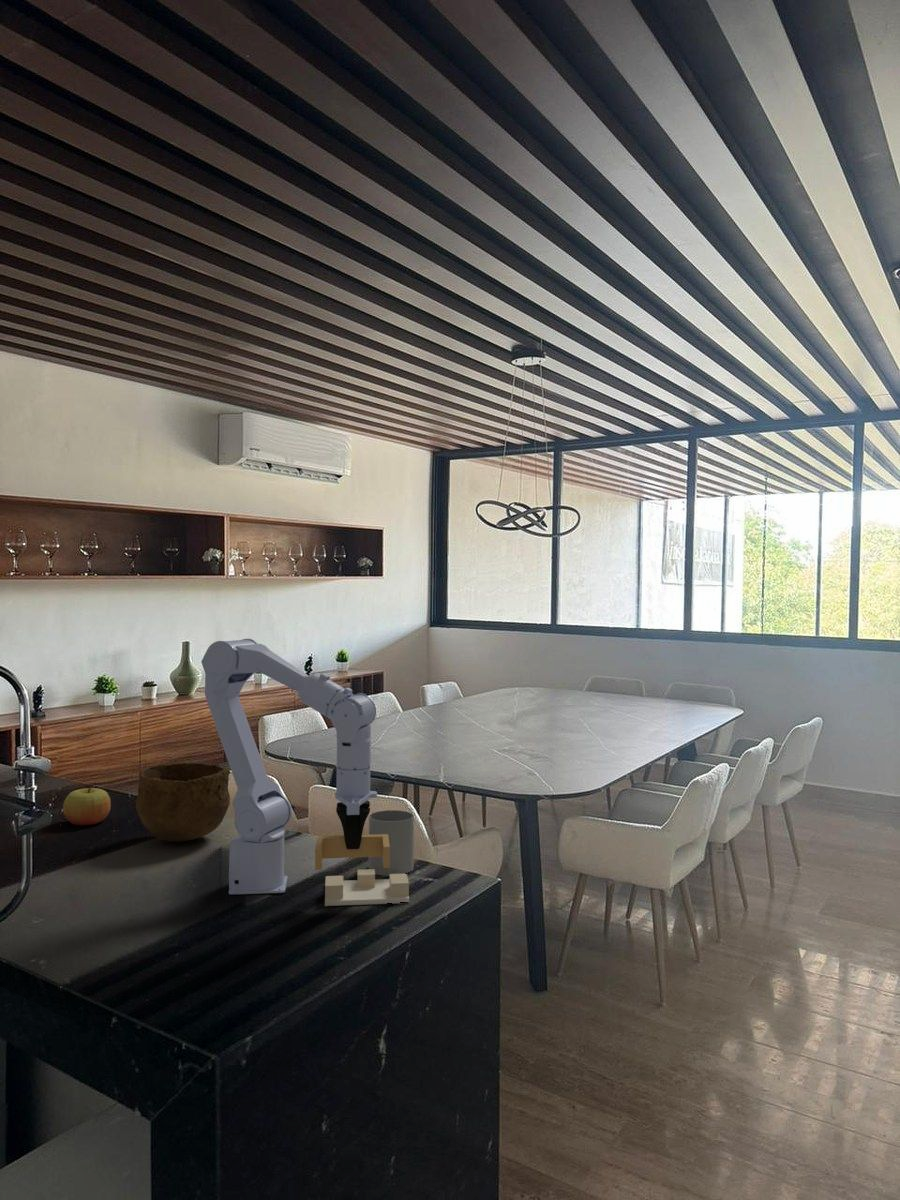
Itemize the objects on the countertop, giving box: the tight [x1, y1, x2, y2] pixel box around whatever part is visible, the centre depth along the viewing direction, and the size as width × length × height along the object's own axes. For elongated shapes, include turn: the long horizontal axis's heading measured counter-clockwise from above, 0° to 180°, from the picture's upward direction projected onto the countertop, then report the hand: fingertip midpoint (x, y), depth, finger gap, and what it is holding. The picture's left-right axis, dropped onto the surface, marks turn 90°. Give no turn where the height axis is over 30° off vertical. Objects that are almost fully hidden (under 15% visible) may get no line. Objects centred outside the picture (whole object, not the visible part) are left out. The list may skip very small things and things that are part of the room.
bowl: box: [135, 761, 231, 843], centre depth 181 cm, size 19×19×15 cm
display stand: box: [324, 868, 410, 907], centre depth 149 cm, size 10×14×3 cm
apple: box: [62, 787, 112, 826], centre depth 194 cm, size 10×10×8 cm
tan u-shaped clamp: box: [314, 834, 390, 871], centre depth 143 cm, size 7×12×3 cm, turn 96°
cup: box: [368, 809, 415, 877], centre depth 163 cm, size 8×8×10 cm
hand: (353, 846), depth 146 cm, fingers closed on tan u-shaped clamp
